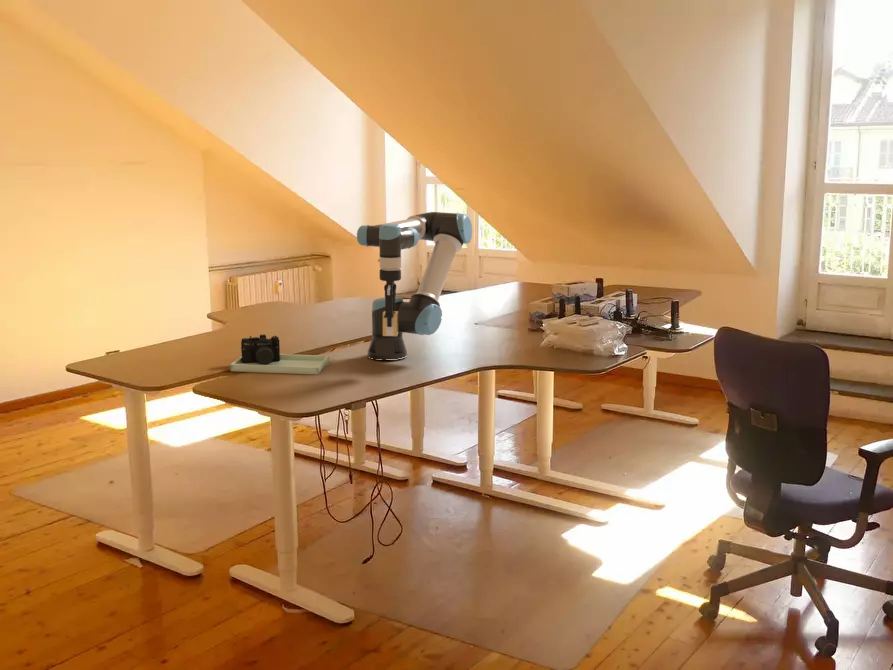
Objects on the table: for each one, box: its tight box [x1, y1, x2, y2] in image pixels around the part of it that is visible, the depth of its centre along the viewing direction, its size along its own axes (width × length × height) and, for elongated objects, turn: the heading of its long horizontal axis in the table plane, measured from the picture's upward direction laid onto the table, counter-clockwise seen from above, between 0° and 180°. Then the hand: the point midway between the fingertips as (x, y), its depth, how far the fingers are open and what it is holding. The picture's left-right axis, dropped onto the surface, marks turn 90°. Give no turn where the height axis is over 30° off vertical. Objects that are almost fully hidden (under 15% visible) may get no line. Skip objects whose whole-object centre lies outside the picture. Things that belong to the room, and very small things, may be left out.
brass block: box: [383, 311, 398, 336], centre depth 313 cm, size 5×5×8 cm
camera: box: [240, 334, 281, 365], centre depth 323 cm, size 14×11×10 cm
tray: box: [230, 353, 331, 375], centre depth 323 cm, size 18×32×2 cm, turn 85°
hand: (390, 333), depth 314 cm, fingers closed on brass block, 5 cm apart
